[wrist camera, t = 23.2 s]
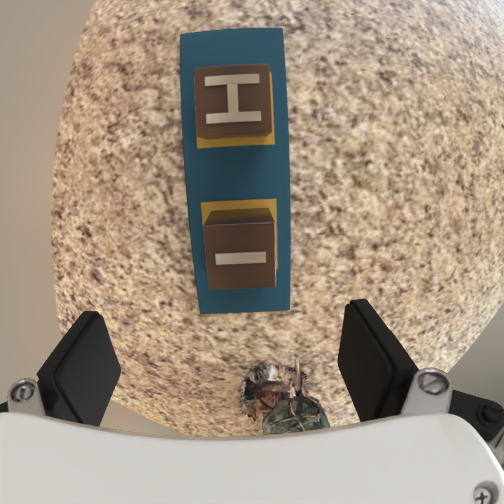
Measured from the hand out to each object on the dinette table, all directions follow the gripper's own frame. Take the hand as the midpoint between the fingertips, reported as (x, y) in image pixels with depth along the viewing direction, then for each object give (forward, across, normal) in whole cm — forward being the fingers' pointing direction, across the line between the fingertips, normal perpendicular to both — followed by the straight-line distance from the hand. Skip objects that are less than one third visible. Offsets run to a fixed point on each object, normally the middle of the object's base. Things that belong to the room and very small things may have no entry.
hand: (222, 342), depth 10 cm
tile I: (+14, -1, 0) cm, 14 cm away
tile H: (+14, -1, -10) cm, 17 cm away
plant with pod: (+14, -4, +17) cm, 23 cm away
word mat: (+14, -1, -5) cm, 15 cm away
